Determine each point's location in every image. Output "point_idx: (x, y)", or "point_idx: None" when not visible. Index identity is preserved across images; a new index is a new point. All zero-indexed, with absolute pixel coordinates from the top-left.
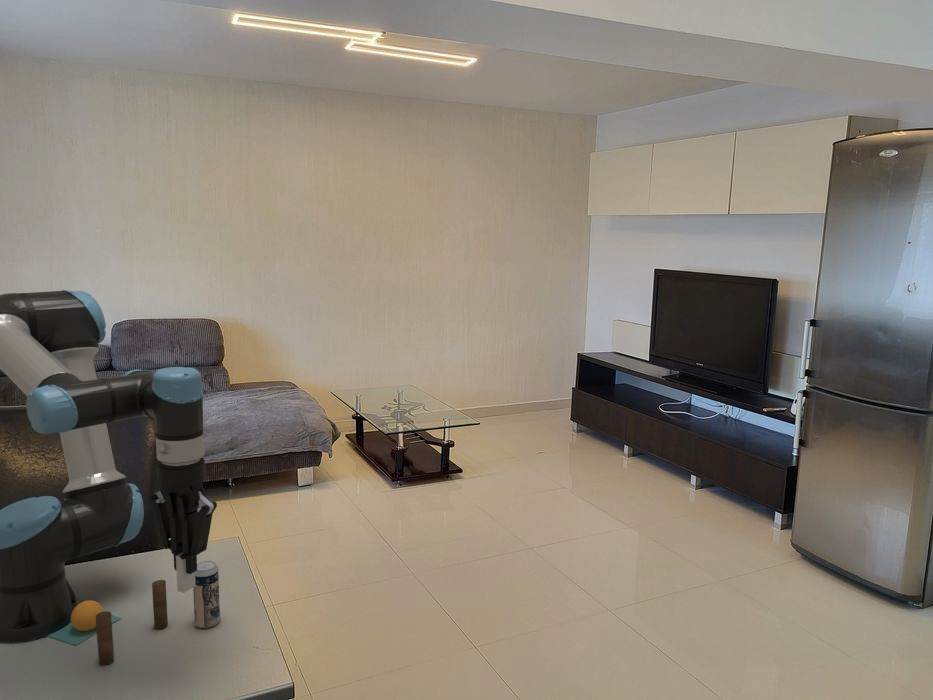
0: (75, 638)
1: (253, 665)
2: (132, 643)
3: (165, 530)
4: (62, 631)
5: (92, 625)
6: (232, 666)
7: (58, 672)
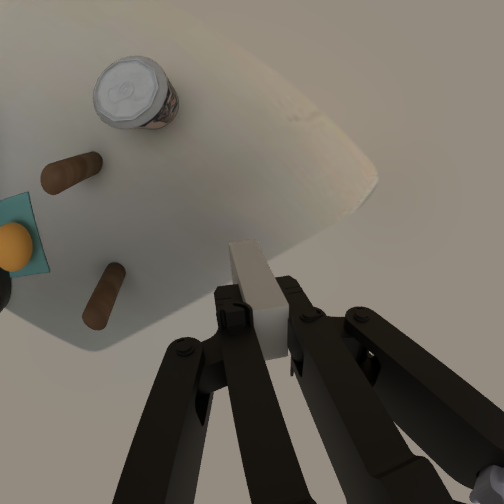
0: (35, 263)
1: (323, 161)
2: (99, 222)
3: (201, 453)
4: None
5: (32, 248)
6: (295, 178)
7: None
